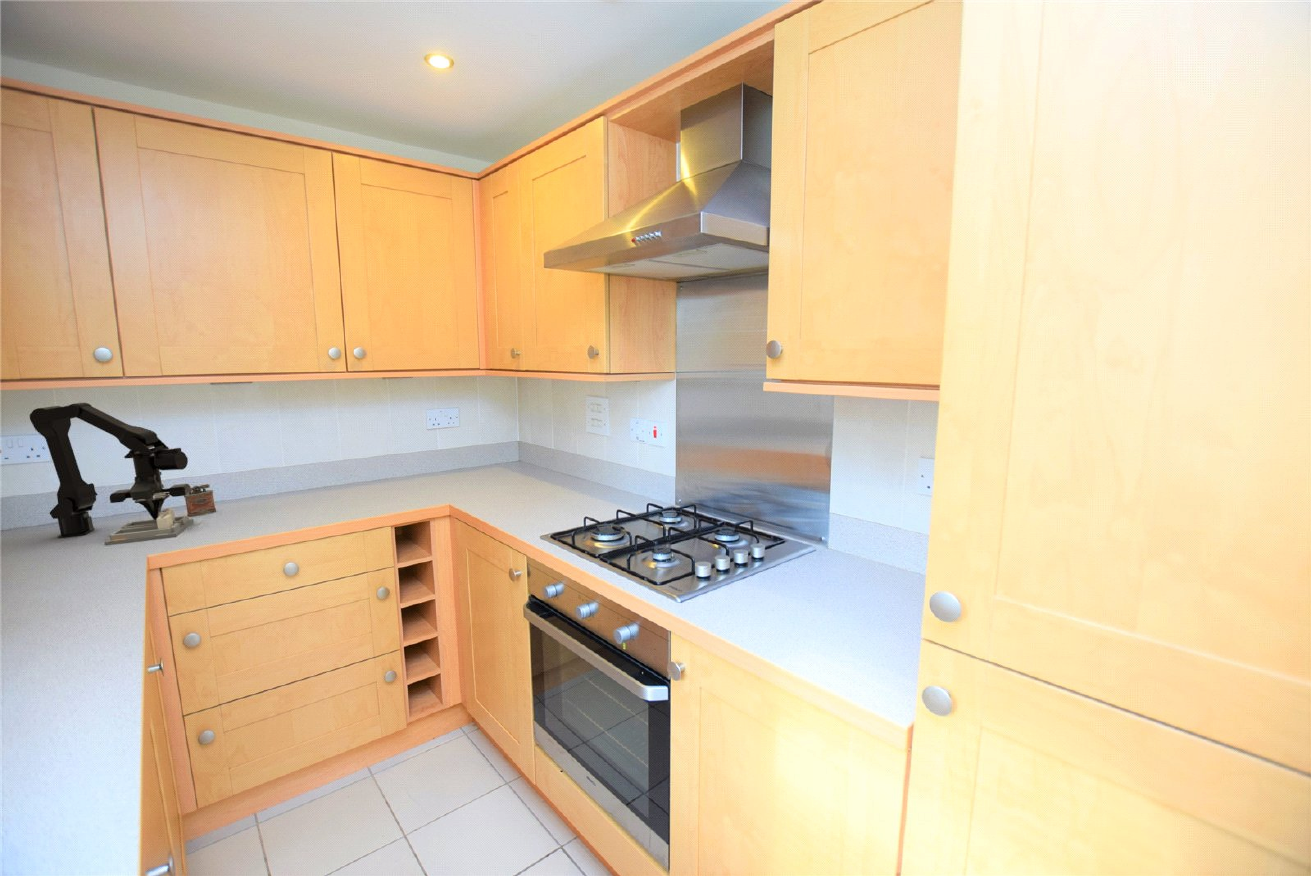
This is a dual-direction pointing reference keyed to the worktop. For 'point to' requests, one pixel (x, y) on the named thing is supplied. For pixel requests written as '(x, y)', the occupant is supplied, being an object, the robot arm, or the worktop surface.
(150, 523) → the switch bank
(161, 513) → the tab
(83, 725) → the worktop surface
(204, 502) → the lighter
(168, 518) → the tab
